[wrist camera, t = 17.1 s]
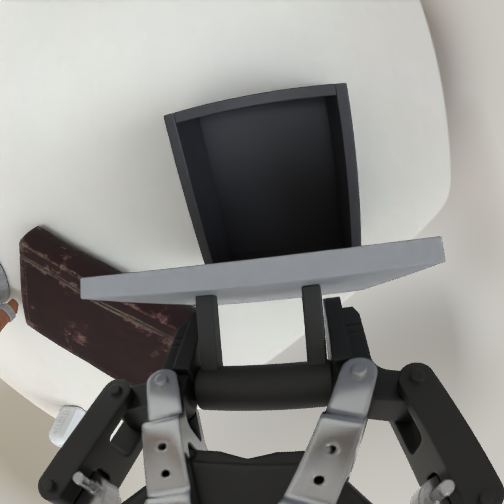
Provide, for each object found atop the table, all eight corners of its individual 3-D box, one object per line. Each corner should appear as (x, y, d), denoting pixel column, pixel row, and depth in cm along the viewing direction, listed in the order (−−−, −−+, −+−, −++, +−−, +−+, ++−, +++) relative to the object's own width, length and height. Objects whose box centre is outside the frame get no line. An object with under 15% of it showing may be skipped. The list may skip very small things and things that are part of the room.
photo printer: (71, 414, 63) (55, 448, 52) (60, 405, 61) (43, 439, 51) (90, 414, 60) (73, 452, 49) (78, 405, 58) (60, 443, 47)
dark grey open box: (190, 109, 25) (162, 115, 19) (330, 85, 22) (346, 83, 17) (227, 257, 32) (215, 297, 26) (347, 243, 30) (361, 281, 24)
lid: (79, 277, 10) (93, 415, 9) (441, 235, 8) (452, 405, 7) (213, 296, 26) (218, 357, 25) (361, 280, 24) (367, 344, 23)
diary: (40, 220, 32) (17, 238, 28) (207, 306, 36) (197, 335, 31) (41, 310, 41) (25, 329, 37) (168, 378, 45) (160, 403, 40)
